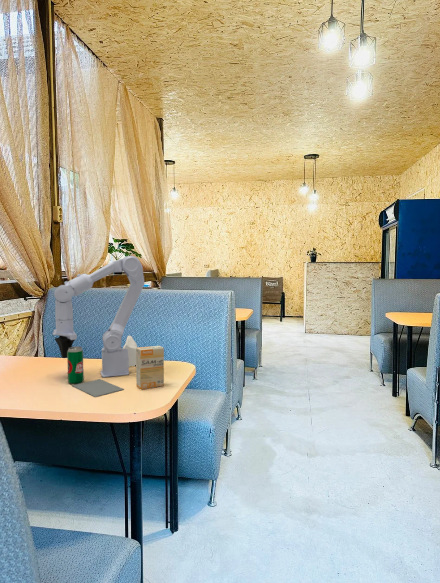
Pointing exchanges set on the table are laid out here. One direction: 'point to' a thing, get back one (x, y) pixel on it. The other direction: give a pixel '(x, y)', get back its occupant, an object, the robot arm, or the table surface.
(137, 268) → the robot arm
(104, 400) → the table surface
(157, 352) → the supplement box
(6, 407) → the table surface
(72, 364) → the soda can
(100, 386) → the mat
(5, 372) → the table surface
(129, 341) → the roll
